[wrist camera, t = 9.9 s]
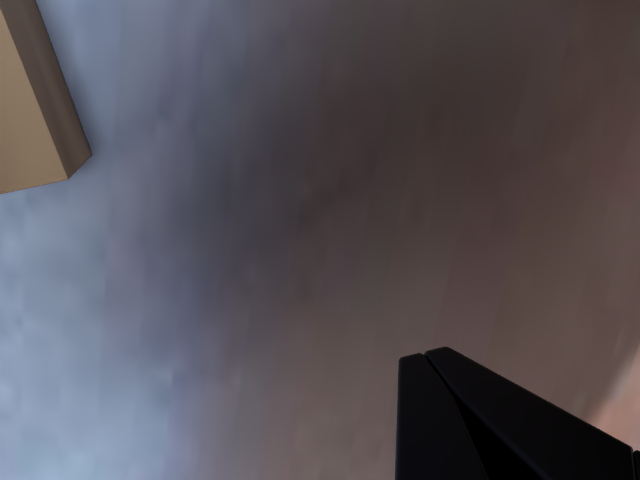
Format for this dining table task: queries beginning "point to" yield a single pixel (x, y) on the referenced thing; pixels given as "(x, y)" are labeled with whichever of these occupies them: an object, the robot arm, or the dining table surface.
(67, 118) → the stand
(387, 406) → the dining table surface
